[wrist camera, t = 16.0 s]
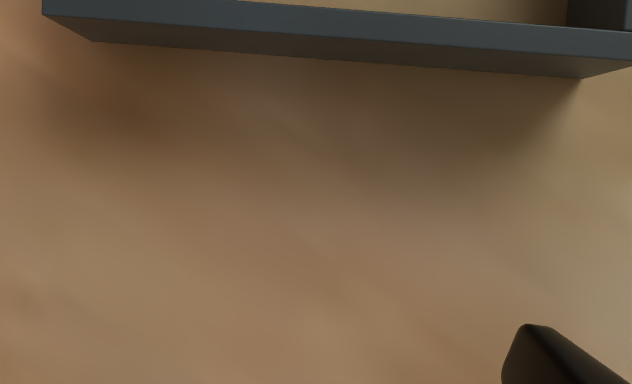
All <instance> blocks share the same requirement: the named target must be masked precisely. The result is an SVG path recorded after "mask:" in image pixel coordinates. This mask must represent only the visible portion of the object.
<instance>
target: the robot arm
mask: <svg viewBox="0 0 632 384" xmlns="http://www.w3.org/2000/svg"><path fill="white" fill-rule="evenodd" d="M501 381H502V384H630V383H629V382H627V381H626V380H624V379H623V378H621V377H620V376H619V375H617V374H616V373H614V372H613V371H612V370H610V369H609V368H607V367H606V366H605V365H603V364H602V363H600V362H599V361H598V360H596V359H595V358H593V357H592V356H591V355H589V354H588V353H586V352H585V351H584V350H582V349H581V348H579V347H578V346H577V345H575V344H574V343H572V342H571V341H570V340H568V339H567V338H565V337H564V336H563V335H561V334H560V333H558V332H557V331H556V330H554V329H553V328H550V327H547V326H541V325H534V324H524V325H522V326H521V327H520V328H519V329H518V331H517V333H516V335H515V338H514V340H513V343H512V345H511V347H510V350H509V352H508V354H507V357H506V359H505V361H504V364H503V367H502V373H501Z"/></svg>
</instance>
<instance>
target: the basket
mask: <svg viewBox="0 0 632 384" xmlns="http://www.w3.org/2000/svg"><path fill="white" fill-rule="evenodd" d="M42 15H44V16H46V17H48V18H49V19H51V20H53V21H55V22H57V23H59V24H61V25H62V26H64V27H66V28H68V29H70V30H72V31H74V32H75V33H77V34H79V35H81V36H83V37H85V38H87V39H89V40H90V41H97V42H110V43H123V44H136V45H149V46H162V47H175V48H188V49H201V50H214V51H227V52H240V53H253V54H266V55H279V56H292V57H305V58H318V59H331V60H344V61H357V62H370V63H383V64H396V65H409V66H422V67H435V68H448V69H461V70H474V71H487V72H500V73H513V74H526V75H539V76H552V77H565V78H578V79H584V78H588V77H592V76H596V75H600V74H603V73H607V72H611V71H615V70H619V69H623V68H626V67H630V66H632V0H569V5H568V15H567V25H566V27H563V26H551V25H538V24H526V23H513V22H501V21H488V20H476V19H463V18H450V17H438V16H425V15H413V14H400V13H388V12H375V11H363V10H350V9H338V8H325V7H312V6H300V5H287V4H275V3H262V2H250V1H237V0H42Z"/></svg>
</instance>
